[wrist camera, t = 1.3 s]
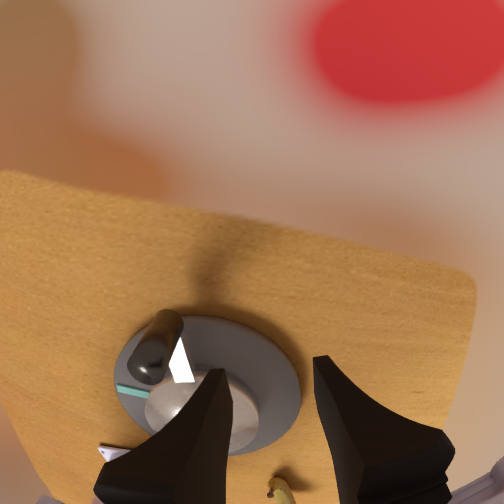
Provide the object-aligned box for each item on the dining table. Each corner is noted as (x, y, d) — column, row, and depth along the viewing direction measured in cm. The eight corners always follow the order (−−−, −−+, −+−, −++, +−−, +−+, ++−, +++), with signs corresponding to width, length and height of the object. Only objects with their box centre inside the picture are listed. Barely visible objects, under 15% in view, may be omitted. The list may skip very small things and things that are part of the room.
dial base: (303, 440, 25) (304, 450, 24) (152, 445, 26) (149, 454, 25) (291, 302, 21) (294, 311, 20) (93, 321, 22) (86, 329, 21)
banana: (299, 498, 30) (301, 520, 26) (281, 501, 30) (283, 523, 26) (279, 466, 27) (281, 494, 23) (259, 470, 27) (259, 497, 23)
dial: (264, 435, 23) (266, 493, 17) (169, 438, 24) (155, 491, 17) (237, 291, 19) (229, 349, 13) (113, 304, 20) (69, 353, 13)
